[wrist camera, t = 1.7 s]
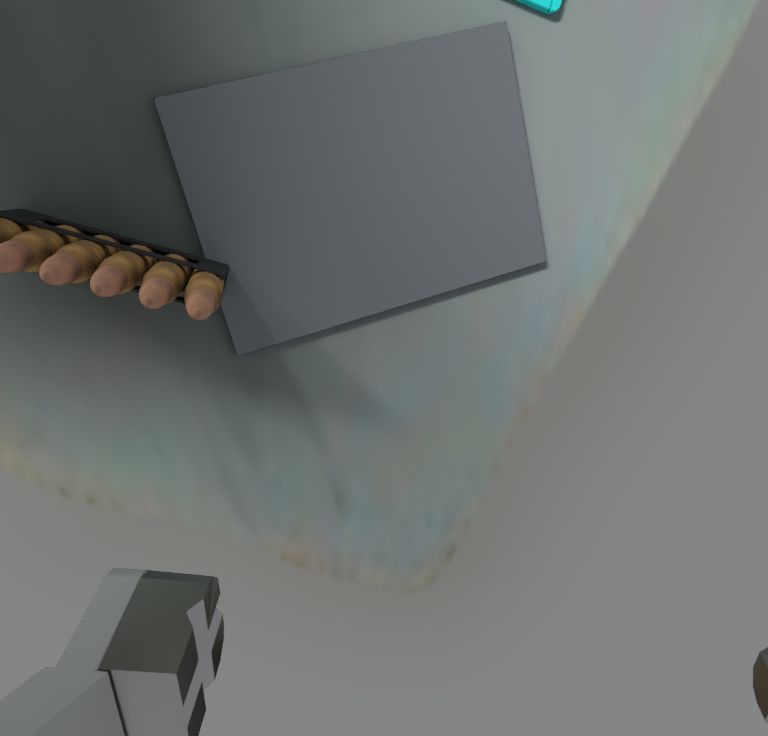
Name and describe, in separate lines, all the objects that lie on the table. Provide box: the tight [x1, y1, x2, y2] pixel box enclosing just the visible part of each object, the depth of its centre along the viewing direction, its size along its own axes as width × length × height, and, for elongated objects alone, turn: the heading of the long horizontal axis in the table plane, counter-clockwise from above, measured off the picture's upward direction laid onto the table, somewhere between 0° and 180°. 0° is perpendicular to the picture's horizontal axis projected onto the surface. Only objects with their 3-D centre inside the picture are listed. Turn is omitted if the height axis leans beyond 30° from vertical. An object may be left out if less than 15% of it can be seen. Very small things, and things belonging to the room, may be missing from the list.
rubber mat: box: [154, 21, 547, 356], centre depth 38 cm, size 20×14×1 cm
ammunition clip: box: [0, 209, 230, 320], centre depth 29 cm, size 11×2×12 cm, turn 74°
